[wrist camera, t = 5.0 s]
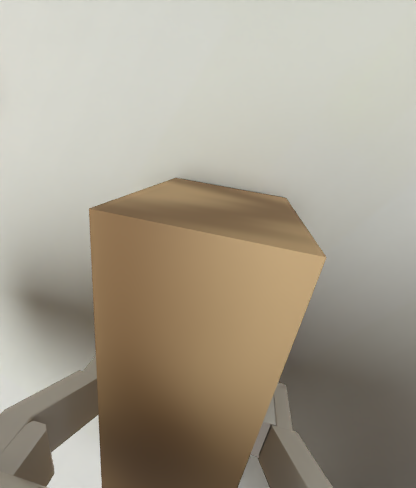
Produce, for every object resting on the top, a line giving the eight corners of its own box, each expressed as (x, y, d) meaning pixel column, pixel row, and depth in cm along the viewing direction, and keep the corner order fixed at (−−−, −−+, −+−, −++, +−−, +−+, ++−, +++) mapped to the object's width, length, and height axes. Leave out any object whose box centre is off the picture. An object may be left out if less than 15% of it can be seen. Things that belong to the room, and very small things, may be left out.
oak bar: (286, 198, 8) (326, 257, 4) (218, 437, 14) (201, 581, 9) (175, 178, 9) (89, 208, 4) (152, 417, 14) (104, 545, 10)
